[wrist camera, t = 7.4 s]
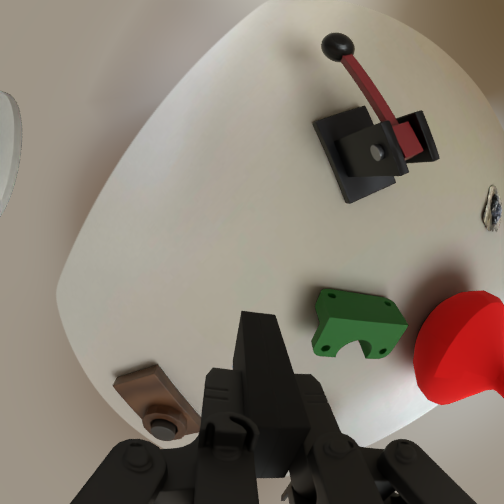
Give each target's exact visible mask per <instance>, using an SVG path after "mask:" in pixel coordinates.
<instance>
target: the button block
mask: <svg viewBox="0 0 504 504" xmlns="http://www.w3.org/2000/svg"><path fill="white" fill-rule="evenodd" d="M113 387H114V388H115V390H116V391H117V392H118V393H119V394H120V396H121V397H122V398H123V399H124V400H125V401H126V402H127V404H128V405H129V406H130V407H131V408H132V409H133V410H134V411H135V412H136V413H137V414H138V416H139V417H140V418H141V419H142V422H143V426H144V428H145V429H146V430H147V431H148V432H149V433H150V434H151V432H150V430H151V426H152V423H153V421H154V420H155V419H158V418H159V419H166V420H168V421H170V422H172V423H174V424H175V426H176V433H175V438H174V439H173V440H176V439H181V438H182V437H183V436H184V435H188V434H193V433H197V432H199V431H200V425H201V417H200V416H199V415H198V414H197V413H196V411H195V410H194V409H193V408H192V407H191V406H190V404H189V403H188V402H187V401H186V400H185V399H184V397H183V396H182V395H181V394H180V392H179V391H178V390H177V389H176V387H175V386H174V385H173V384H172V382H171V381H170V380H169V379H168V377H167V376H166V375H165V373H164V372H163V371H162V369H161V368H160V367H159V365H155V366H152V367H149V368H146V369H143V370H139V371H136V372H133V373H130V374H127V375H123V376H120V377H117V379H116V380H115V382H114V384H113Z"/></svg>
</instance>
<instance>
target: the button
mask: <svg viewBox="0 0 504 504" xmlns="http://www.w3.org/2000/svg"><path fill="white" fill-rule="evenodd" d="M150 432H151V434H152V435H153V436H154V437H155V438H157V439H159V440H163V441H171V440H173V439H174V438H175V433H176V426H175V424H174V423H172V422H170V421H168V420H166V419H159V418H158V419H155V420H154V421H153V423H152V426H151V430H150Z"/></svg>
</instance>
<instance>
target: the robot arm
mask: <svg viewBox="0 0 504 504" xmlns="http://www.w3.org/2000/svg"><path fill="white" fill-rule="evenodd" d="M327 401H328V400H327V398H326V396H325V395H324V391H323V389H322V386H321V384H320V382H318V381H317V380H316V379H315V378H314V377H313V376H312V375H311V374H294V372H293V369H292V366H291V363H290V359H289V356H288V353H287V350H286V347H285V344H284V341H283V338H282V335H281V331H280V328H279V325H278V322H277V319H276V316H275V315H272V314H263V313H255V312H247V311H241V317H240V323H239V329H238V334H237V340H236V346H235V351H234V357H233V370H228V369H220V368H212V369H211V371H210V372H209V373H208V374H207V375H206V380H205V389H204V397H203V406H202V416H201V425H200V431H199V435H198V436H197V438H196V439H195V440H194V441H193V442H192V443H190V444H189V445H186V446H184V447H180V448H173V449H160V448H159V447H158V446H156V445H154V444H153V443H151V442H149V441H145V440H141V439H128V440H125V441H122V442H120V443H118V444H117V445H116V446H115V447H113V449H112V450H111V451H110V453H109V454H108V455H107V457H106V458H105V459H104V461H103V462H102V463H101V464H100V466H99V467H98V468H97V469H96V471H95V472H94V474H93V475H92V476H91V477H90V478H89V480H88V481H87V482H86V484H85V485H84V486H83V488H82V489H81V490H80V491H79V493H78V494H77V495H76V497H75V498H74V499H73V500H72V502H71V503H70V504H259V499H258V490H257V481H256V478H284V477H285V476H286V474H287V472H288V470H289V472H290V477H291V482H290V484H289V485H288V487H287V488H286V490H285V491H284V493H283V494H282V496H281V501H285V499H286V498H287V497H288V498H289V504H477V503H476V502H475V501H474V500H473V499H472V498H470V496H469V495H468V494H467V493H465V492H464V491H463V490H462V489H461V488H460V487H459V486H458V485H457V484H456V483H455V482H454V481H453V480H452V479H451V478H450V477H449V476H448V475H447V474H446V473H445V472H444V471H443V470H442V469H441V468H440V467H439V466H438V465H437V464H436V463H435V462H434V461H433V460H432V459H431V458H430V457H429V456H428V455H427V454H426V453H425V452H424V451H423V450H422V449H421V448H420V447H419V446H418V445H417V444H415V443H414V442H412V441H409V440H406V439H398V440H394V441H392V442H391V443H389V444H388V445H387V446H386V448H385V449H373V448H364V447H360V446H358V445H357V443H356V442H355V440H354V439H352V438H351V437H349V436H348V435H345V434H342V433H341V431H340V429H339V427H338V424H337V422H336V419H335V417H334V415H333V412H332V410H331V408H330V405H329V403H327ZM395 491H397V492H398V493H399V494H397V493H395Z"/></svg>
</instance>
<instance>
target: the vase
mask: <svg viewBox="0 0 504 504" xmlns="http://www.w3.org/2000/svg"><path fill="white" fill-rule="evenodd" d="M413 364H414V370H415V375H416V380H417V385H418V387H419V388H420V390H421V391H422V392H423V394H424V395H425V396H426V398H427V399H428V400H430V401H432V402H434V403H437V404H440V405H445V404H450V403H453V402H456V401H458V400H461V399H464V398H466V397H469V396H472V395H475V394H477V393H480V392H483V391H485V390H492V389H493V390H495V391H497V392H498V393H499V394H500V395H501V396H502V397H503V398H504V304H503V303H502V301H501V300H500V299H499V298H498V297H496V296H494V295H492V294H490V293H488V292H486V291H469V292H461V293H458V294H456V295H454V296H452V297H450V298H448V299H446V300H444V301H443V302H442V303H440V304H439V305H438V306H437V307H436V308H435V309H434V310H433V311H432V312H431V313H430V314H429V316H428V317H427V319H426V320H425V322H424V323H423V325H422V327H421V329H420V331H419V333H418V336H417V339H416V342H415V350H414V359H413Z"/></svg>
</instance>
